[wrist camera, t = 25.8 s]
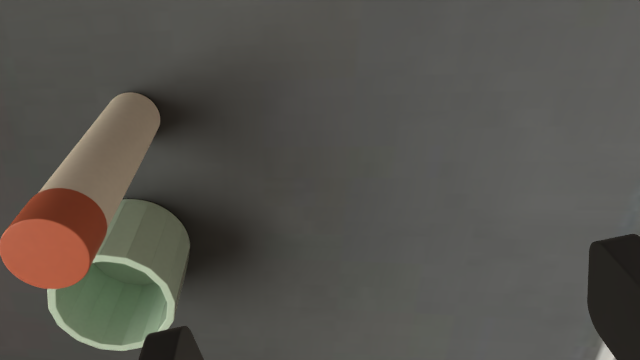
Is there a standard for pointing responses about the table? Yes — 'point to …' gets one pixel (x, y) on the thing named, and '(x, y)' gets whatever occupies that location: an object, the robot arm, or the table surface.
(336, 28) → the table surface
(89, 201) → the marker
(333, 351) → the table surface
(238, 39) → the table surface
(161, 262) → the pen pot
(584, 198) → the table surface
